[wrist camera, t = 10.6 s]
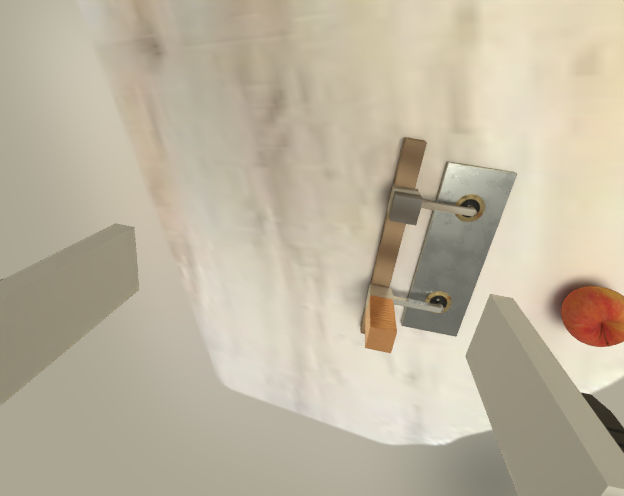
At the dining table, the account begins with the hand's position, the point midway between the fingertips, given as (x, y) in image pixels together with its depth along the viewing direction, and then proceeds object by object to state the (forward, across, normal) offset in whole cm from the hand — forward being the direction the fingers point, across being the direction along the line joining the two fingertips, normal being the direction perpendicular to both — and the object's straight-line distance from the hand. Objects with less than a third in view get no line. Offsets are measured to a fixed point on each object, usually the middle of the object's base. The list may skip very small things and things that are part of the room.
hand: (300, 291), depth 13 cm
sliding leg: (+33, +11, -18) cm, 39 cm away
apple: (+35, +34, -14) cm, 51 cm away
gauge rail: (+35, +11, -11) cm, 38 cm away
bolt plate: (+35, +16, -11) cm, 40 cm away
